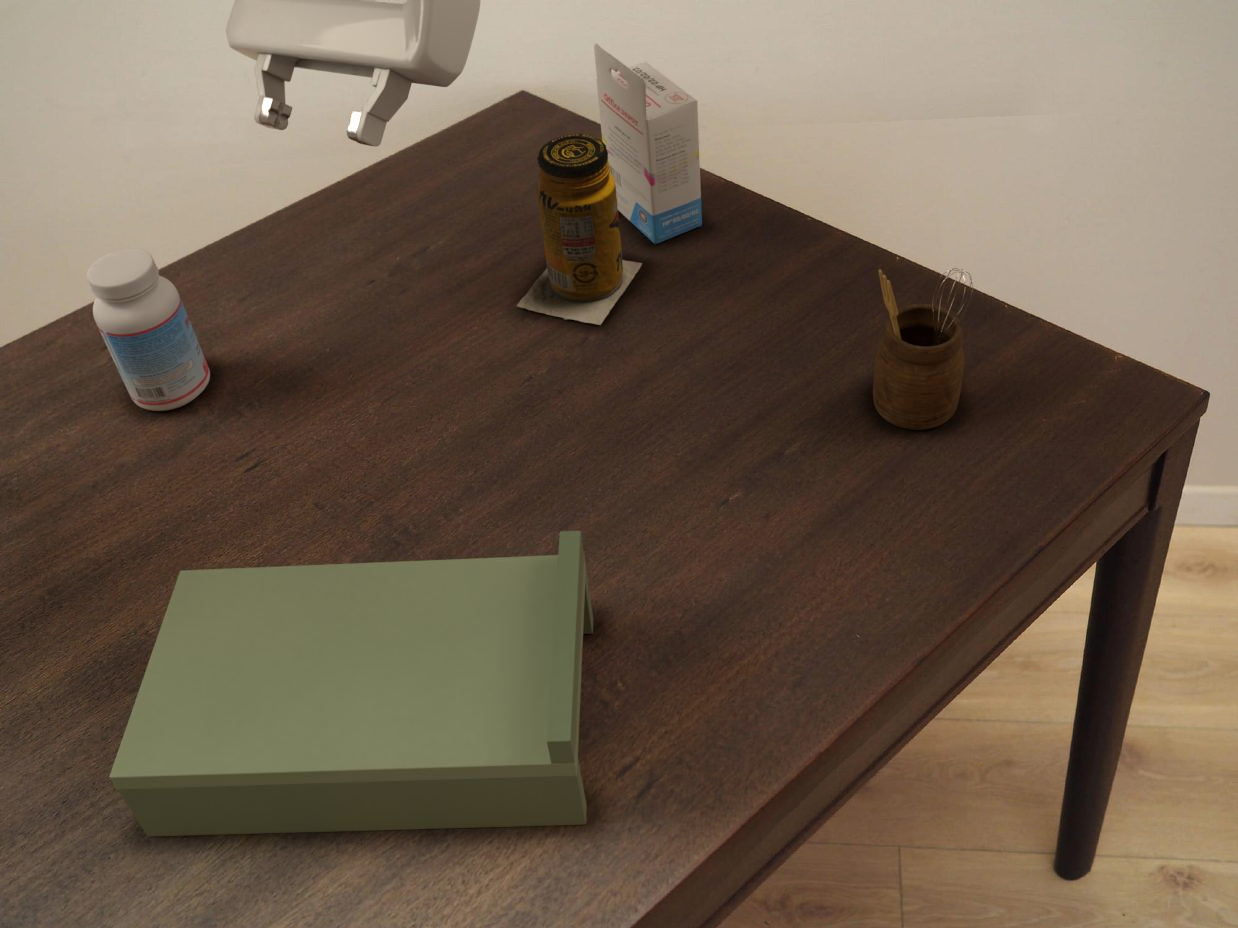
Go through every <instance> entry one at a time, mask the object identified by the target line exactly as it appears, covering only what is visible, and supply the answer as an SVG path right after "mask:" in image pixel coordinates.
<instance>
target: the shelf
mask: <svg viewBox="0 0 1238 928" xmlns="http://www.w3.org/2000/svg"><path fill="white" fill-rule="evenodd" d="M558 539H559V540H558V554H553V555H551V554H550V555H528V556H527V555H525V556H502V557H477V558H453V559H430V560H428V559H427V560H406V561H405V560H403V561H379V562H377V561H376V562H355V563H354V562H353V563H352V562H351V563H332V564H331V563H328V564H307V565H306V564H305V565H304V564H303V565H284V566H283V565H281V566H256V567H233V568H214V569H213V568H209V569H207V568H206V569H183V570H182V569H181V570H180V571H179V573H178V576H177V579H176V581H175V585H174V587H173V590H172V593H171V596H170V600H169V602H168V605H167V608H166V611H165V614H164V616H163V619H162V623H161V625H160V628H159V631H158V634H157V637H156V640H155V642H154V645H153V649H152V651H151V654H150V657H149V660H148V663H147V666H146V669H145V672H144V675H143V678H142V681H141V684H140V686H139V689H138V692H137V695H136V698H135V701H134V703H133V707H132V710H131V713H130V716H129V718H128V721H127V724H126V726H125V729H124V733H123V736H122V739H121V741H120V744H119V748H118V750H117V753H116V756H115V759H114V762H113V765H112V768H111V771H110V774H109V779H110V781H111V783H112V784H113V785H114V787H115V788H116V790H117V792H118V793H119V795H120V796H121V798H122V799H123V801H124V802H125V804H126V806H127V807H128V808H129V810H130V812H131V813H132V815H133V816H134V817H135V819H136V820H137V823H138V824H139V825H140V827H141V828H142V830H143V831H144V833H145V834H146V836H147V837H183V836H186V837H187V836H216V835H217V836H219V835H221V836H223V835H255V834H257V835H258V834H293V833H295V834H296V833H329V832H331V833H332V832H364V831H365V832H366V831H367V832H368V831H399V830H406V831H407V830H436V829H438V830H439V829H474V828H475V829H476V828H478V829H479V828H510V827H511V828H512V827H514V828H516V827H548V826H549V827H550V826H551V827H552V826H583V825H584V826H585V825H586V824H587V810H588V809H587V808H588V807H587V799H586V795H585V794H586V793H585V789H584V783H583V778H582V777H583V776H582V772H581V765H580V761H579V756H578V755H579V740H580V739H579V738H580V737H579V736H580V716H581V714H580V713H581V691H582V689H581V688H582V668H583V664H582V663H583V647H584V646H583V645H584V635H593V633H594V613H593V607H592V599H591V592H590V586H589V579H588V572H587V565H586V558H585V550H584V543H583V537H582V531H581V530H561V531H559V538H558Z"/></svg>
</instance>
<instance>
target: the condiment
mask: <svg viewBox="0 0 1238 928" xmlns="http://www.w3.org/2000/svg"><path fill="white" fill-rule="evenodd" d="M536 159H537V164H538V167H539V171H538V179H539V181H538V183H537V185H536V186H537V187H536V195H537V203H538V210H539V218H540V225H541V233H542V241H543V247H544V254H545V262H546V269H545V270H544V271H543V272H542V274H540V275H539V276H538V278H537V279H536V280H535V281H534V283H533V285H532V286H531V287H529V289H528V291H527V292H526V294H525V295H524V296H523V297H522V298H521V299H520V300H519V302H518V303H517V304H516V307H519V308H521V309H526V310H528V311H532V312H535V313H539V314H545V315H548V316H551V317H558V318H562V319H563V320H565V321H566V320H574V321H577V322H580V323H586V324H587V323H588V324H593V325H597V326H602V324H603V322H604V321H605V319H606V318H607V316H608V315H609V314H610V311H612V309H613V307H614V306H615V304H616V303H617V302H618V300H619V299H620V297H621V296H622V295H623V294H624V292H625V291H626V290H627V288H628V287H629V285H630V283H631V282H632V280H633V279H635V276H636V274H637V273H638V272H639V270H640V269H641V267H642V266H643V262H637V261H631V260H625V259H623V252H622V251H623V250H622V241H621V232H620V219H619V210H618V204H617V196H616V193H617V191H616V186H615V179H614V177H613V176H612V174H611V172H610V165H609V161H608V152H607V149H606V145H605V144H604V143H603V142H602V139H599V138H598V137H595V136H592V135H589V134H582V133H576V134H574V133H573V134H572V133H571V134H565V135H561V136H559V137H555V138H553V139H550V140H549V141H548V142H547V143H545V144H544V145H542V147H541V148H540V149H539V151H538V156H537V158H536Z"/></svg>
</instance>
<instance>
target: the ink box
mask: <svg viewBox="0 0 1238 928" xmlns="http://www.w3.org/2000/svg"><path fill="white" fill-rule="evenodd" d="M593 50H594V52H593V53H594V61H595V71H596V73H595V74H596V90H597V99H598V111H599V119H600V120H599V121H600V131H601V132H600V133H601V141H602V142H603V143H604V144H605V145H606V149H607V152H608V161H609V165H610V172H611V174H612V176H613V177H614V179H615V186H616V191H617V193H616V196H617V204H618V212H620V213H621V214H622V216H624V217H625V218H626V219H627V220H628V221H629V222H630V223H631V224H632V225H634V227H636V228H637V230H639V231H640V232H641V233H642V234H643V235H644V236H645V237H646V238H647V239H648V240H650V242H651V243H653V244H654V245H657V244H660V243H662V242H665V241H667V240H669V239H673V238H674V237H677V236H680V235H682V234H684V233H687V232H689V231H691V230H694V229H696V228H698V227H702V225H703V217H702V215H703V213H702V191H701V190H702V189H701V165H700V164H701V163H700V160H701V159H700V138H699V137H700V136H699V135H700V133H699V108H698V107H699V105H698V99H696V98H695V97H693V96H692V95H691V94H689V93H688V92H687V91H686V90H684V89H682V87H680V86H679V85H677V84H676V83H675V82H673V81H672V80H671V79H669V78H668V77H667V76H666V75H664V74H663V73H661V71H659V70H657V69H656V68H655V67H654V66H652V65H651V64H650V63H648V62H647V61H642V62H639V63H637V64H634V65H631V66H627V65H626V64H625V63H623V62H622V61H620V60H619V59H618V58H616V57H615V56H613V54H611V53H609V52H608V51H607V50H605V49H604V48H603V47H602V46H600V45H599V44H598V43H594V46H593ZM612 71H613V72H612Z"/></svg>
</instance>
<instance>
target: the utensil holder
mask: <svg viewBox="0 0 1238 928" xmlns="http://www.w3.org/2000/svg"><path fill="white" fill-rule="evenodd" d="M954 270H955V271H954ZM952 271H954V272H952ZM947 272H948V274H947ZM951 272H952V273H951ZM956 273H958V274H957V276H956V277H955V280H954V282H953V284H952V287H951V290H950V292H949V295H948V298H947V302H946V304H945V307H941V304H939V305H936V301H937V298H938V296H939V293H940V290H941V294H940V298H939V303H942V302H941V301H942V298H943V297H942V296H943V293H944V289H945V286H946V283H947V280H948V278H949V277H950V276H951V275H953V274H956ZM945 274H947V276H945V278H944V279H943V281H941V278H942V277H943V275H945ZM959 275H960V278H959ZM964 275H966V276H967V277H968V278H969V281H970V283H969V287H968V291H967V294H966V297H965V293H966V288H964V291H963V295H962V299H961V301H960V305H959V308H958V310H957V313H956V315H955V314H954V313H953V312H952V311H951V308H952V306H953V303H954V300H955V297H956V295H957V291H958V289H959V286H960V283H961V280H962V278H963V282H964V284H966V280H965V276H964ZM878 276H879V282H880V287H881V293H882V298H883V303H884V305H885V307H886V310H887V311H888V314H889V315H888V317H887V318H886V321H885V323H884V326H883V330H882V339H881V340H880V342H879V343H878V346H877V349H876V354H875V361H874V371H873V382H872V383H873V385H872V399H873V405H874V407H875V409H876V411H877V413H878V414H879V415H880V416H881V417H882V418H883V419H884V420H885V421H887V422H888V423H890V424H891V425H894V426H896V427H898V428H902V429H906V430H913V431H922V430H923V431H924V430H931V429H934V428H937V427H939V426H942V425H943V424H945V423H947V422H948V421H949V420H950V419H952V417H953V416H954V414H955V412H956V410H957V408H958V406H959V401H960V397H961V391H962V384H963V377H964V370H965V352H964V349H963V342H964V332H963V325H962V323H961V319H962V318H963V317H964V316H965V313H966V311H967V309H968V307H969V305H970V302H971V299H972V295H973V291H974V284H973V279H972V276H971V274H970V272H968V271H966V270H964V269H963V268H961V269H959V268H958V267H954V268H951V269H948V270H946V271H945V272H943V273H942V274H941V275H940V277H939V279H938V281H937V284H936V287H935V289H934V292H933V296H932V303H931V304H929V303H914V304H913V303H912V304H909V305H904V306H902V307H899V308H898V307H897V303H896V299H895V296H894V292H893V288H892V284H891V281H890V280H889V279H887V276H886V275H885V274H883V270H882V269H878ZM958 278H959V281H958V283H957V287H956V289H955V292H954V296H953V299H952V301H951V304H950V306H949V309H947V306H948V304H949V300H950V298H951V295H952V291H953V289H954V286H955V283H956V281H957V279H958ZM940 281H941V284H940V286H939V288H938V285H939V282H940ZM943 283H944V284H943ZM942 285H943V287H942ZM937 288H938V291H937ZM941 288H942V289H941ZM970 290H971V293H970ZM936 291H937V293H936ZM969 293H970V297H969V300H968V302H967V298H968V296H969ZM935 294H936V298H935ZM964 297H965V300H964ZM934 299H935V300H934ZM963 300H964V302H963ZM966 302H967V304H966V305H967V306H966V308H965V310H964V312H963V313H962V315H961V316H960V317H959V318H958V315H960V313H961V311H962V310H963V308H964V305H965V303H966Z"/></svg>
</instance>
